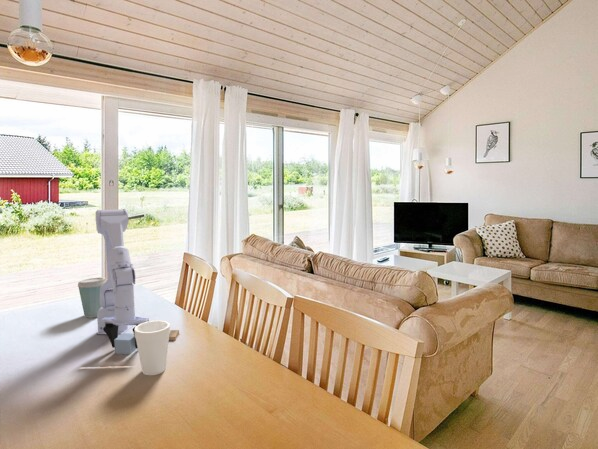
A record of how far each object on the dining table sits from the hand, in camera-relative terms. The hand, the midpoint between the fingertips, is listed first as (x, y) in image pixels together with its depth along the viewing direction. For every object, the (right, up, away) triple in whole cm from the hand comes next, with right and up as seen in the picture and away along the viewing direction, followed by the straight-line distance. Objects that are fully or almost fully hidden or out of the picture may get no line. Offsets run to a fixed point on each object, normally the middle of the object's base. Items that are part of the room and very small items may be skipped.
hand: (126, 346), depth 123 cm
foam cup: (+13, -3, -12) cm, 18 cm away
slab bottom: (+10, -1, +11) cm, 14 cm away
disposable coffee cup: (-28, +2, +33) cm, 43 cm away
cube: (0, -2, 0) cm, 2 cm away
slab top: (+10, 0, +10) cm, 14 cm away
